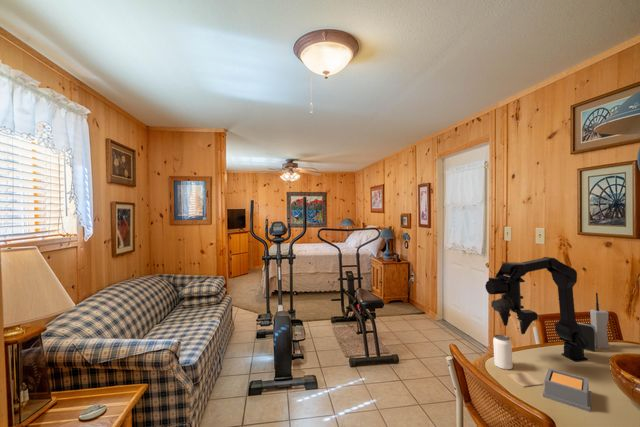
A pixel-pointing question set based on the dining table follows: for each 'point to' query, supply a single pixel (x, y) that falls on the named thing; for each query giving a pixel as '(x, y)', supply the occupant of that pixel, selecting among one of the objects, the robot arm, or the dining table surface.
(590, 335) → the battery
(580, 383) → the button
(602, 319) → the vintage mobile phone
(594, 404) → the dining table surface
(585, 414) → the dining table surface
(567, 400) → the grey open box
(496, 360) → the can
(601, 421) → the dining table surface
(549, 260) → the robot arm
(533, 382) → the tan wavy cloth
